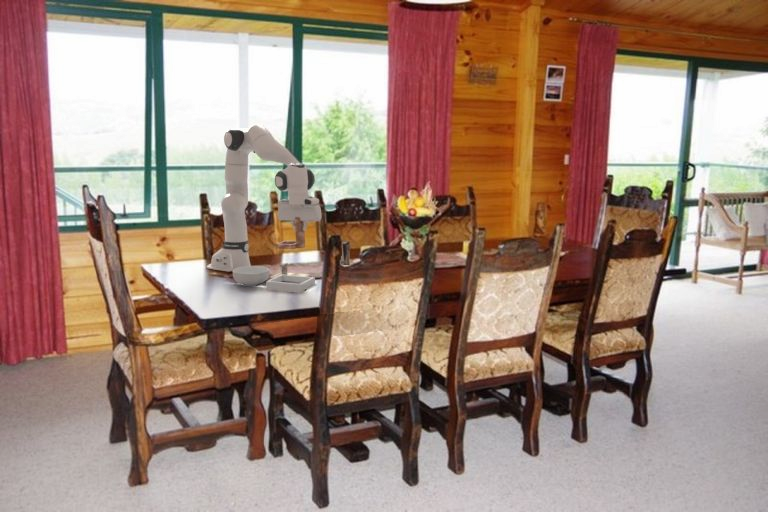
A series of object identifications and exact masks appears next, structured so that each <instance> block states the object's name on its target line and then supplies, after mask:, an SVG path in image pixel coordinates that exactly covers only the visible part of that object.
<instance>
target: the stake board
mask: <svg viewBox="0 0 768 512" xmlns="http://www.w3.org/2000/svg"><path fill="white" fill-rule="evenodd" d="M288 266H289V264H288V262H285V263H282V264H280V269H281V271H280V272H277V273H276V274H274V275H271V276H269V277H268V279H269V278H271V279H272V278H275V277H277V276H279V275H282V274H283V275H294V276H305V277H310V276H311V274H309V273H300V272H299V273H297V272H288Z"/></svg>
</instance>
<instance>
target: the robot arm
mask: <svg viewBox="0 0 768 512" xmlns="http://www.w3.org/2000/svg"><path fill="white" fill-rule="evenodd" d="M223 140H224V141H223V142H224V146H225V147H226V155H225V167H224V168H225V169H224V181H225V194H226V195H224V196H223V197H222V199H221V204H220V205H221V206H220V207H221V211H222V217H223V218H222V219H223V223H224V224H223V225H224V240H223V241H222V242H221V243H220V245H221V248H220V249H219V250H218V251H216V252H215V253H214V254H213V255H212V256H211V261H210V263H209V264H207V266H206V269H210V270H214V271H222V272H233V269H235V268H238V267H244V266H252V265H251V262H250V260H251V259H250V256H249V239H248V223H247V219H246V212H245V210H246V208H247V207H248V205H249V187H248V174H249V154H251V153H254V154H256V155H257V156H258V157H259V158H260V159H261V160H263V161H267V162H274V163H280V164H283V165H285V166H286V168H284V169H281V170H278V171H277V173H276V174H275V176H274V184H275V187H276V189H278V190H279V191H280V192H288V193H287V194H288V199H280V200H278V201H277V219H278V220H279V221H290V223H291V226H292V228H293V231H294V232H296V230H295V217H300V221H304V226H303V227H302V231H305V232H306V231H307V226H308V224H309V222H320V221H321V220H322V219H323V217H322V216H323V215H322V210H321V206H320V205H319V203H320V199H319V198H318V197H315V196H312V195H309V194H310V193H309V190H310V189H312V187H313V186H314V185H315V182H316V178H315V174H314V173H313V171H312V170H311V169H310V168H309V167H307V166H306V165H305V164H304V163H302V161H301V160H300V159H298V157H297V156H296V155H295V154H294V153H293V152H292V151H291V150H290V149H289V148H287V147H285V146H284V145H282V144H281V143H280V142H279V141H278V140H276V139H275V137H274V136H273V135H272V133H271V132H270V131H269V129H268V128H267V127H266V126H264V125H263V124H260V123H255V124H251V125H250V126H249V128H231V129H228V130H227V131H226V132H225V134H224V137H223Z"/></svg>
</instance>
